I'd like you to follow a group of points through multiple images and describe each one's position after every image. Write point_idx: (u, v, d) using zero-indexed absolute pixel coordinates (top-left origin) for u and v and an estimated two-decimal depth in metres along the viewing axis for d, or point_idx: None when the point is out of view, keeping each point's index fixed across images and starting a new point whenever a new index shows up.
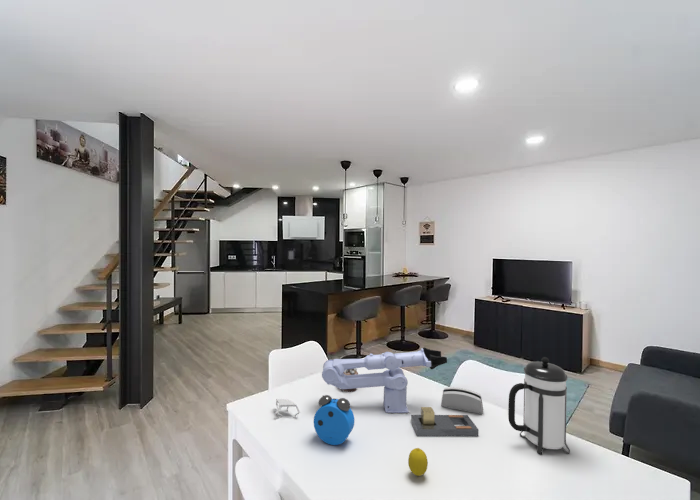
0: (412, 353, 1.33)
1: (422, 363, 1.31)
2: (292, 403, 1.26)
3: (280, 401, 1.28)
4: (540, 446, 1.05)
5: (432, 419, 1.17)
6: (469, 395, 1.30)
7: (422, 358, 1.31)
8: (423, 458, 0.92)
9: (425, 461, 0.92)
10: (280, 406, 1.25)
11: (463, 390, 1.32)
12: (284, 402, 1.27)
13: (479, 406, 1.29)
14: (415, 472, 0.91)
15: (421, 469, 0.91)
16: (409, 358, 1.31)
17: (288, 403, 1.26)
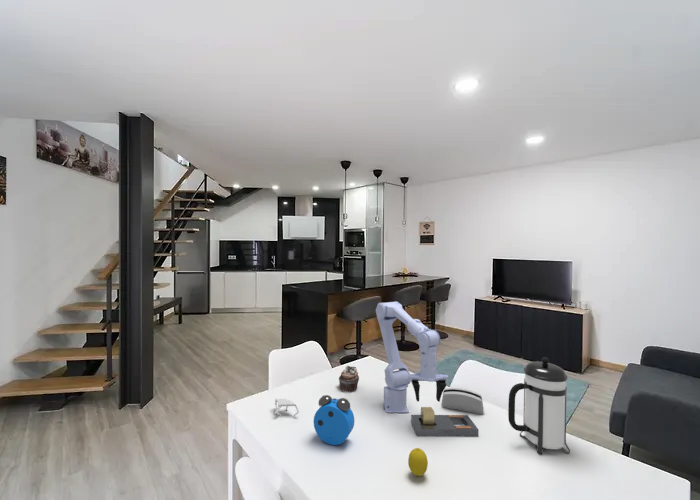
0: (428, 367, 1.16)
1: None
2: (291, 403, 1.26)
3: (279, 401, 1.28)
4: (540, 446, 1.05)
5: (432, 419, 1.17)
6: (470, 395, 1.30)
7: (421, 375, 1.18)
8: (423, 458, 0.92)
9: (425, 461, 0.92)
10: (279, 406, 1.25)
11: (463, 390, 1.32)
12: (283, 402, 1.27)
13: (480, 406, 1.29)
14: (415, 472, 0.91)
15: (421, 469, 0.91)
16: (425, 362, 1.16)
17: (287, 403, 1.26)
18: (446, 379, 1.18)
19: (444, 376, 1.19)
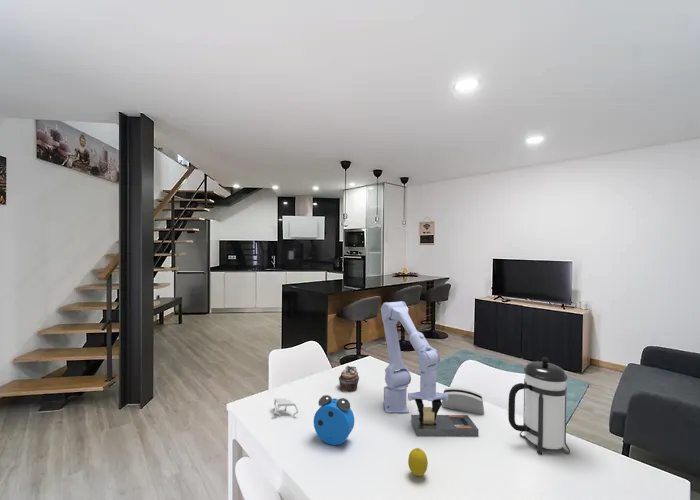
0: (427, 386, 1.16)
1: (420, 391, 1.20)
2: (291, 402, 1.27)
3: (278, 400, 1.28)
4: (540, 446, 1.05)
5: (432, 419, 1.17)
6: (470, 395, 1.30)
7: (421, 394, 1.18)
8: (423, 458, 0.92)
9: (425, 461, 0.92)
10: (279, 405, 1.25)
11: (464, 390, 1.32)
12: (282, 401, 1.27)
13: (480, 406, 1.29)
14: (415, 472, 0.91)
15: (421, 469, 0.91)
16: (425, 381, 1.16)
17: (287, 402, 1.27)
18: (446, 398, 1.18)
19: (444, 395, 1.19)
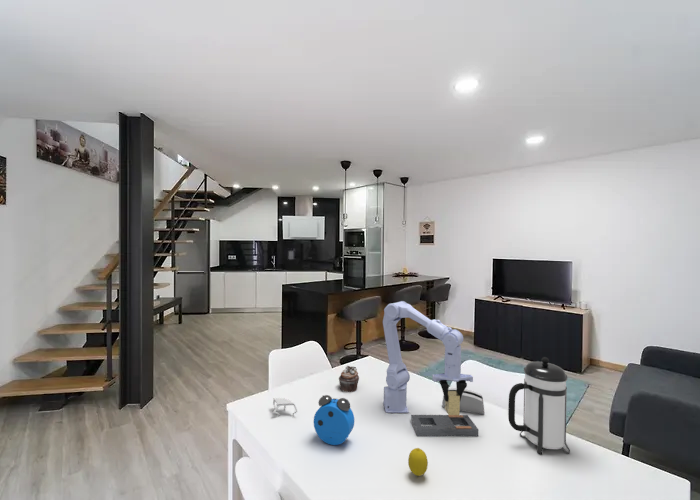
0: (452, 367, 1.16)
1: None
2: (290, 402, 1.27)
3: (277, 400, 1.28)
4: (540, 446, 1.05)
5: (457, 402, 1.17)
6: (471, 396, 1.29)
7: (446, 375, 1.18)
8: (423, 458, 0.92)
9: (425, 461, 0.92)
10: (278, 405, 1.25)
11: (464, 391, 1.32)
12: (282, 401, 1.28)
13: (481, 406, 1.29)
14: (415, 472, 0.91)
15: (421, 469, 0.91)
16: (453, 362, 1.16)
17: (286, 402, 1.27)
18: (471, 379, 1.18)
19: (468, 376, 1.19)
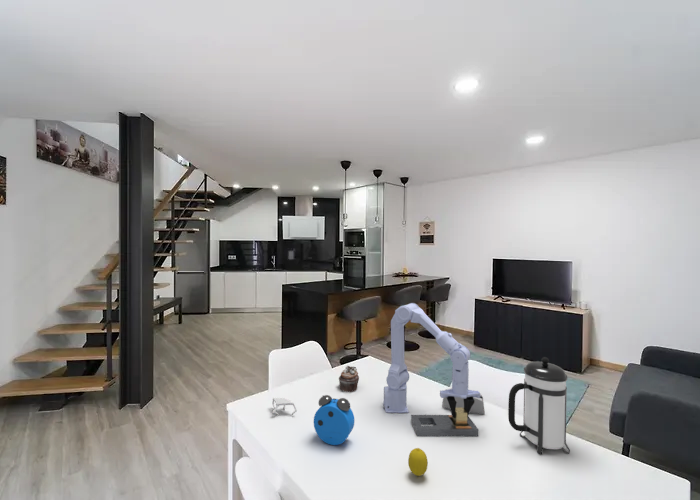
0: (460, 384, 1.16)
1: (452, 389, 1.20)
2: (289, 402, 1.27)
3: (277, 400, 1.28)
4: (540, 446, 1.05)
5: (465, 419, 1.17)
6: None
7: (453, 391, 1.18)
8: (423, 458, 0.92)
9: (425, 461, 0.92)
10: (277, 405, 1.26)
11: None
12: (281, 401, 1.28)
13: (481, 406, 1.29)
14: (415, 472, 0.91)
15: (421, 469, 0.91)
16: (461, 379, 1.16)
17: (285, 402, 1.27)
18: (478, 395, 1.18)
19: (476, 392, 1.19)
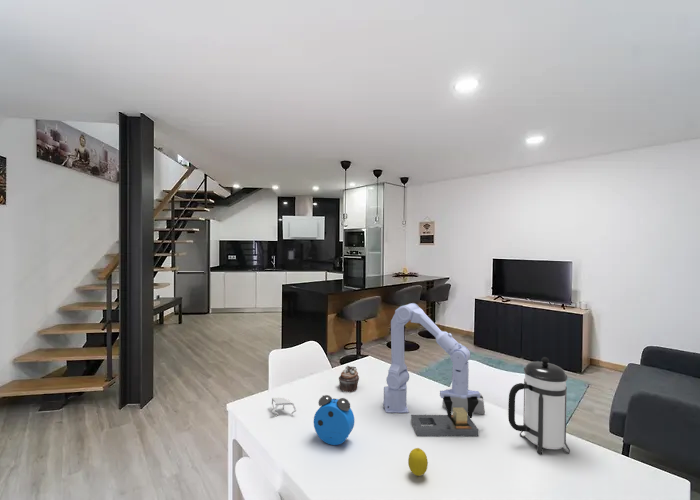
0: (460, 384, 1.16)
1: (452, 389, 1.20)
2: (288, 401, 1.27)
3: (276, 400, 1.29)
4: (540, 446, 1.05)
5: (465, 419, 1.17)
6: None
7: (453, 391, 1.18)
8: (423, 458, 0.92)
9: (425, 461, 0.92)
10: (277, 405, 1.26)
11: None
12: (280, 401, 1.28)
13: (481, 406, 1.29)
14: (415, 472, 0.91)
15: (421, 469, 0.91)
16: (461, 379, 1.16)
17: (284, 401, 1.27)
18: (478, 396, 1.18)
19: (476, 392, 1.19)
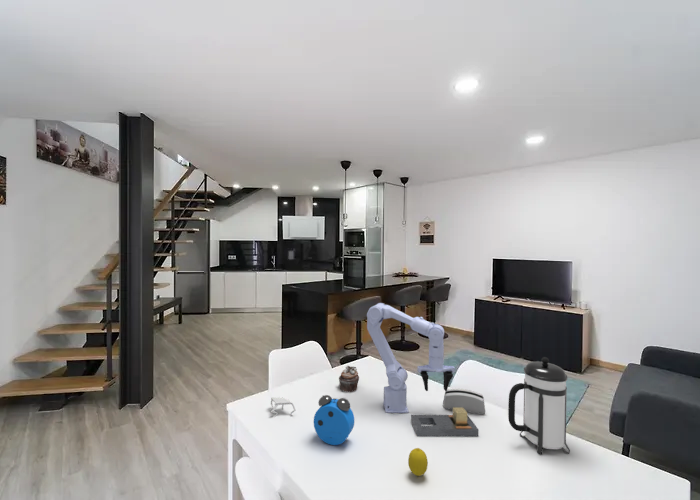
0: (435, 359, 1.25)
1: None
2: (288, 401, 1.28)
3: (275, 399, 1.29)
4: (540, 446, 1.05)
5: (465, 420, 1.17)
6: (472, 396, 1.29)
7: (429, 366, 1.27)
8: (423, 458, 0.92)
9: (425, 461, 0.92)
10: (276, 404, 1.26)
11: (465, 391, 1.32)
12: (279, 400, 1.28)
13: (482, 406, 1.29)
14: (415, 472, 0.91)
15: (421, 469, 0.91)
16: (438, 354, 1.25)
17: (284, 401, 1.28)
18: (453, 370, 1.27)
19: (451, 367, 1.28)
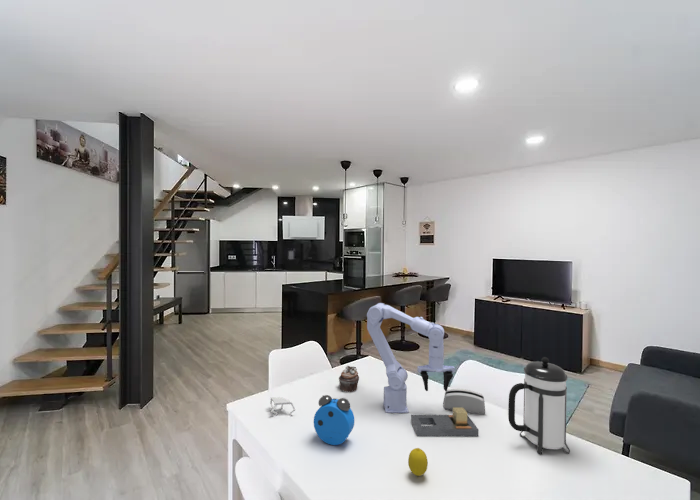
0: (435, 359, 1.25)
1: None
2: (287, 401, 1.28)
3: (275, 399, 1.29)
4: (540, 446, 1.05)
5: (465, 420, 1.17)
6: (472, 396, 1.29)
7: (429, 366, 1.27)
8: (423, 458, 0.92)
9: (425, 461, 0.92)
10: (275, 404, 1.26)
11: (466, 391, 1.32)
12: (279, 400, 1.28)
13: (482, 406, 1.29)
14: (415, 472, 0.91)
15: (421, 469, 0.91)
16: (438, 354, 1.25)
17: (283, 401, 1.28)
18: (453, 370, 1.27)
19: (451, 367, 1.28)
